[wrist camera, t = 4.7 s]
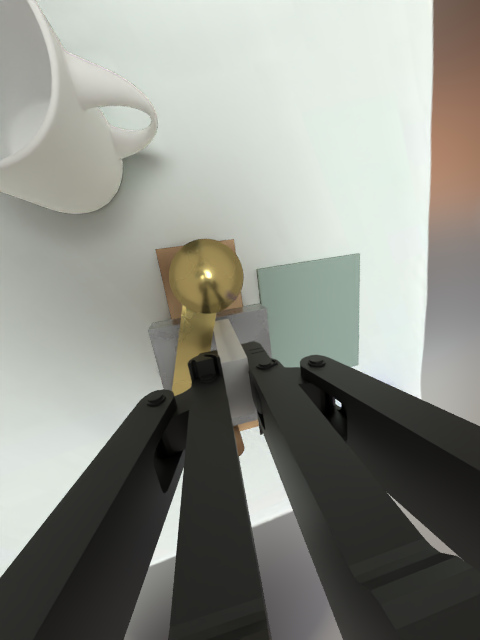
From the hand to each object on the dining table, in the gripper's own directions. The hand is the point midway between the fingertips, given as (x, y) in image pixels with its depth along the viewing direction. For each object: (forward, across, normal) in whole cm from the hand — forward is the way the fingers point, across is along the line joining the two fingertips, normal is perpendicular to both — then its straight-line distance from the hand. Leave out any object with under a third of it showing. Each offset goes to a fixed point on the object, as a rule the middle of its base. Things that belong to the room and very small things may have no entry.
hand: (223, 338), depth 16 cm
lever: (0, -2, 0) cm, 2 cm away
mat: (+9, +11, -4) cm, 15 cm away
